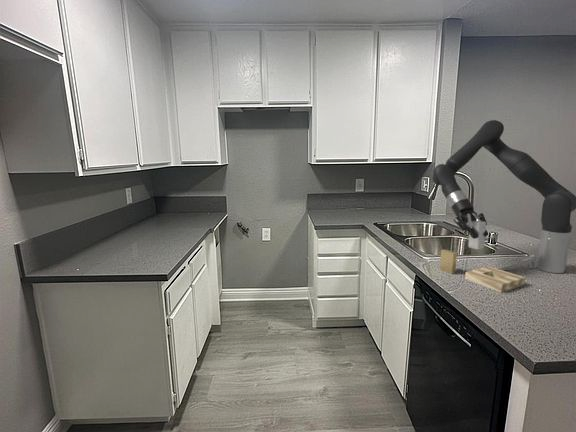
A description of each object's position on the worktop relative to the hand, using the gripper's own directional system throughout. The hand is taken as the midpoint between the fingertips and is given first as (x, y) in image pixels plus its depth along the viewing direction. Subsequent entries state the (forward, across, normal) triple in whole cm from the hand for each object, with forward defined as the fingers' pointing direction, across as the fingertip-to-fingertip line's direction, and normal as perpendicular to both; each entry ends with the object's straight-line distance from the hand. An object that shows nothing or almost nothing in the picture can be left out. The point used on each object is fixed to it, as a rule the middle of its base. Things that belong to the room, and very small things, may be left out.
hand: (480, 236), depth 125 cm
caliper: (+13, -18, -11) cm, 25 cm away
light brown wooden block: (+7, +10, -16) cm, 20 cm away
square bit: (+2, 0, -5) cm, 6 cm away
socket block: (+17, +1, -6) cm, 18 cm away
